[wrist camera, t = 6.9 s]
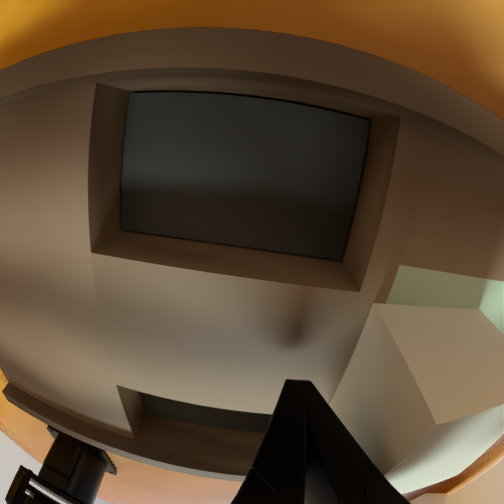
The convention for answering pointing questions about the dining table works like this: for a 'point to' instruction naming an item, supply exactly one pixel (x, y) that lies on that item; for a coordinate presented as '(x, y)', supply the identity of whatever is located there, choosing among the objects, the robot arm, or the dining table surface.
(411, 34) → the dining table surface
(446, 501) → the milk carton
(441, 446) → the block
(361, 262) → the box
